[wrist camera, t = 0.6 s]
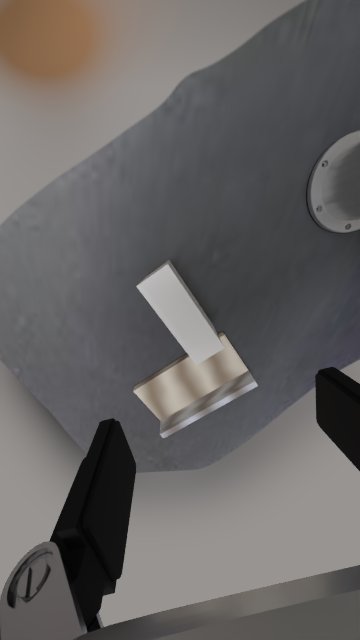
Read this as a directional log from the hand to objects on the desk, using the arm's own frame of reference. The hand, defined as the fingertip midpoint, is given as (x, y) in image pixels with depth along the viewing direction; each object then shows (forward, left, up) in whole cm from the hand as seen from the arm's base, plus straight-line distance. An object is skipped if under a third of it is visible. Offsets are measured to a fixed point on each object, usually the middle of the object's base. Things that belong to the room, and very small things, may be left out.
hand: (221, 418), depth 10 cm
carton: (+1, 0, -27) cm, 27 cm away
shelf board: (+8, +14, -27) cm, 31 cm away
